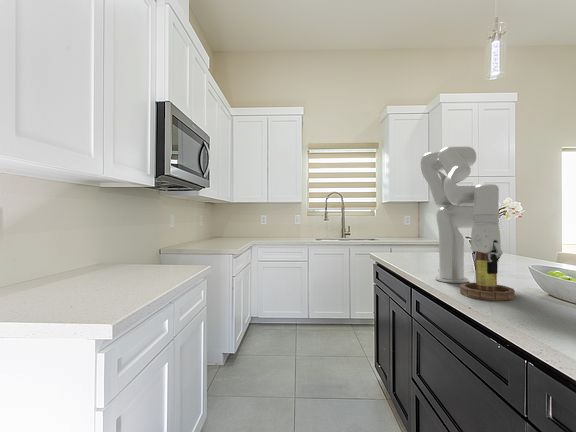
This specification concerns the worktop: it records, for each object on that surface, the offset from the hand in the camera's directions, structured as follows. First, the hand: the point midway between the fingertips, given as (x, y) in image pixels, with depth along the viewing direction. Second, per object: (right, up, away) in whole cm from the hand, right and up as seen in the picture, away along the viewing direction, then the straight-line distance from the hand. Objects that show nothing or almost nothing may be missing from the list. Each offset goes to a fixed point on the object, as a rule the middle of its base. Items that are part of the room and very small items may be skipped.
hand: (485, 271), depth 114 cm
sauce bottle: (0, -7, 0) cm, 7 cm away
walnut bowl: (0, -8, 0) cm, 8 cm away
